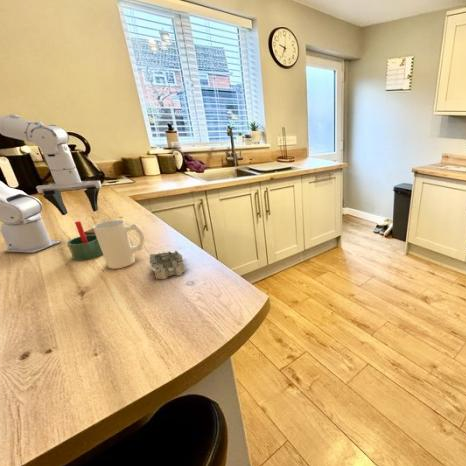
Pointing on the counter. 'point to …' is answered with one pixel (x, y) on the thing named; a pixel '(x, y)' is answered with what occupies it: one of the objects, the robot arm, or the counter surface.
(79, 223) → the straw
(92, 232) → the straw holder
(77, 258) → the cup
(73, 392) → the counter surface
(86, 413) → the counter surface
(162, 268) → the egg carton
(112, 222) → the mug
